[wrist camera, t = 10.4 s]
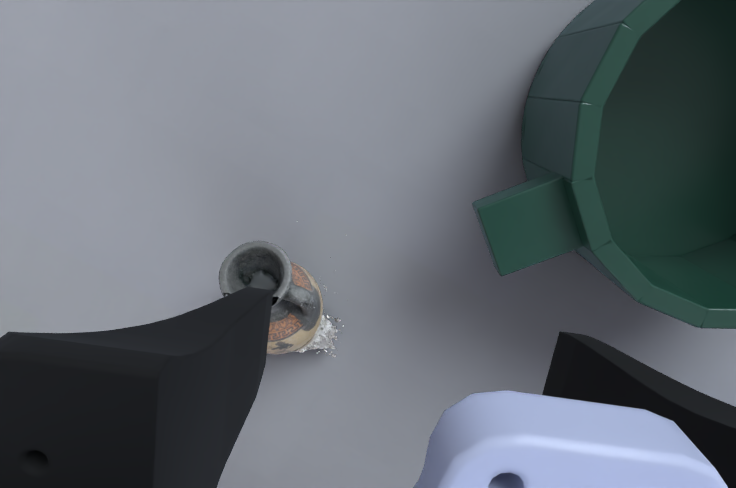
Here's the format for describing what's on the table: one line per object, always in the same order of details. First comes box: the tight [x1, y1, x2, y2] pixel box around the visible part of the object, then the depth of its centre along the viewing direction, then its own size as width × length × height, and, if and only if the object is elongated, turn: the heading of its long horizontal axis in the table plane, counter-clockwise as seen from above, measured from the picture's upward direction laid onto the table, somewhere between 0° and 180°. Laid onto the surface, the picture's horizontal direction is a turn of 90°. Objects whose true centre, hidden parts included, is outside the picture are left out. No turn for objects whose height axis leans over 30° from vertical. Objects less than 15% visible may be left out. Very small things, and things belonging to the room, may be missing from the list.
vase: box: [219, 221, 348, 357], centre depth 20 cm, size 5×5×6 cm
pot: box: [472, 0, 736, 329], centre depth 18 cm, size 11×17×6 cm
